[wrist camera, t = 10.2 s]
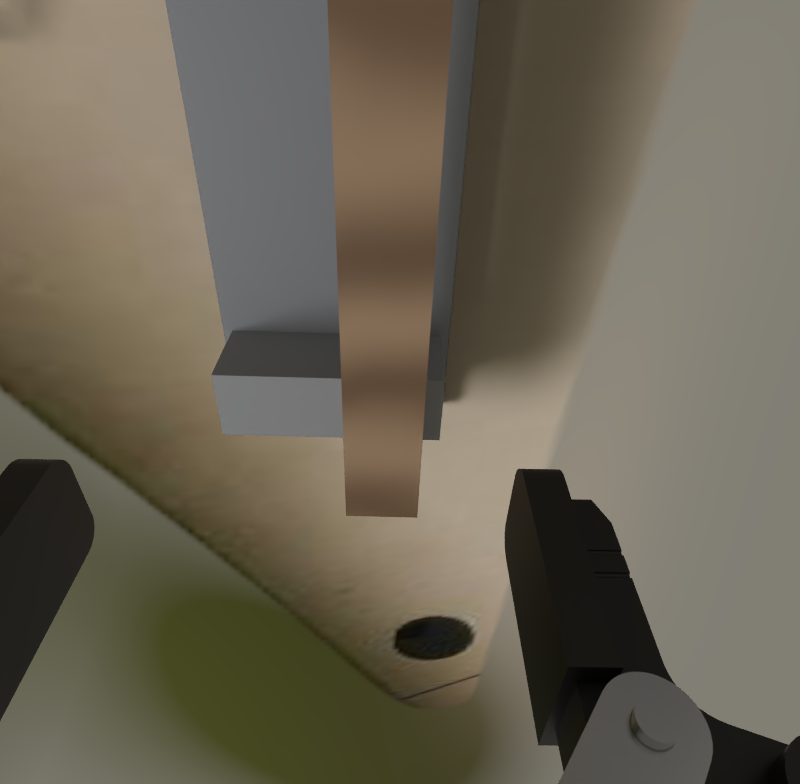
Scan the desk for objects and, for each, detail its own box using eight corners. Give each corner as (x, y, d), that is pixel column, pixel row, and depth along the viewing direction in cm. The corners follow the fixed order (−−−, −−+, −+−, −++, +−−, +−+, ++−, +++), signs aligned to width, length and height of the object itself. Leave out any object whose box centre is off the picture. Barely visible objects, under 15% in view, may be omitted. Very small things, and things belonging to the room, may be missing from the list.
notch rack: (129, -285, 20) (-23, -422, 13) (499, -271, 20) (551, -399, 13) (243, 397, 38) (205, 499, 31) (440, 403, 38) (448, 505, 31)
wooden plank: (335, -310, 16) (312, -401, 12) (462, -304, 16) (481, -393, 12) (353, 447, 33) (346, 515, 29) (415, 449, 33) (416, 517, 29)
